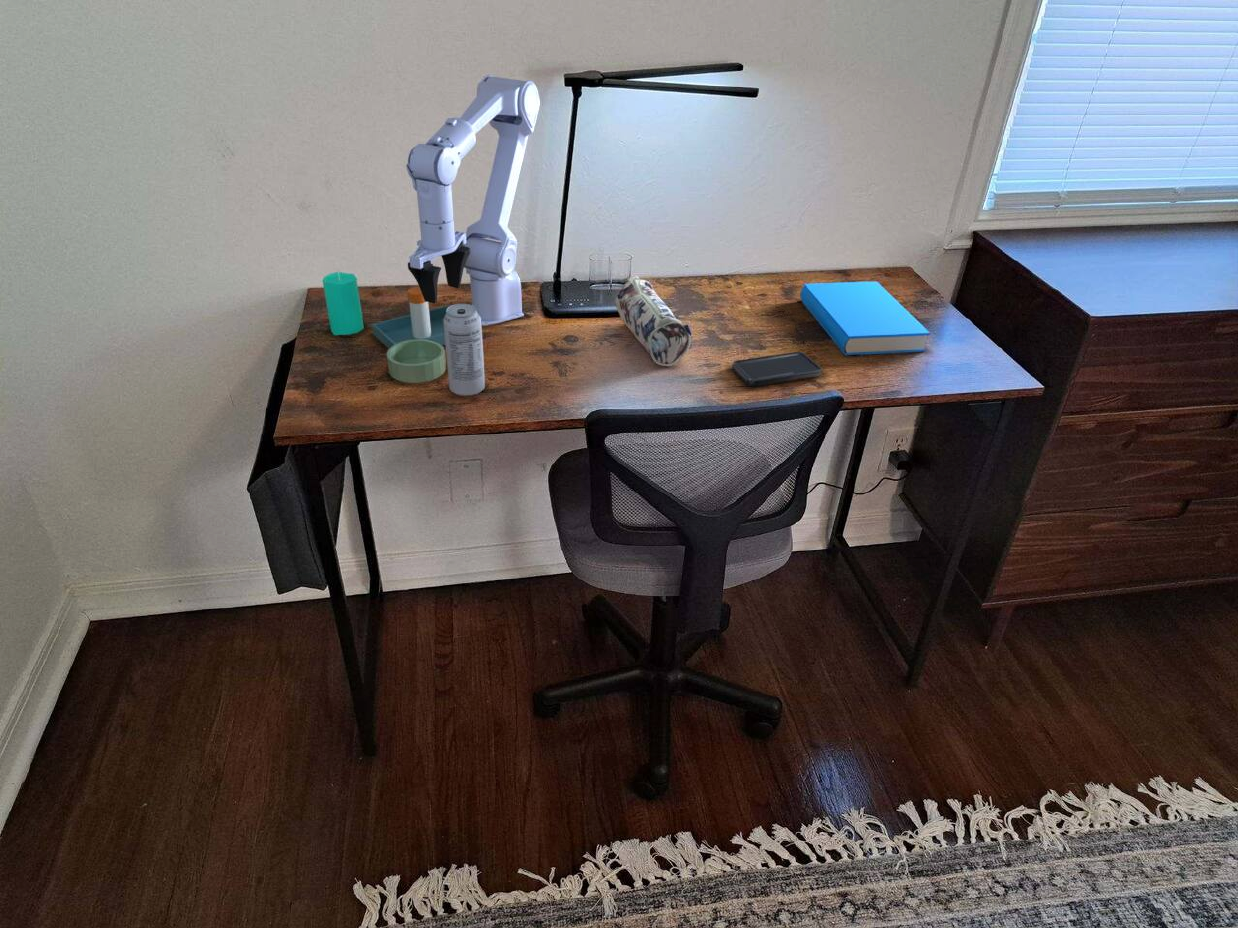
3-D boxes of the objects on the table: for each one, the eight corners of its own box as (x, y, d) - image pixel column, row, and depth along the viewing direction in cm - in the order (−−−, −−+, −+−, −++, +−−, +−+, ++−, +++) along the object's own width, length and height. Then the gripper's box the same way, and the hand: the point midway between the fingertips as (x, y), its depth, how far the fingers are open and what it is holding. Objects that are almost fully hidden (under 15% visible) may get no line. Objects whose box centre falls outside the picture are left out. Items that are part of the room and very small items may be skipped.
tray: (449, 316, 167) (448, 305, 165) (476, 337, 160) (475, 325, 158) (373, 336, 158) (371, 324, 157) (398, 359, 151) (396, 346, 150)
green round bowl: (430, 353, 154) (428, 334, 152) (455, 375, 147) (454, 356, 145) (380, 367, 149) (377, 348, 147) (403, 390, 142) (401, 371, 140)
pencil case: (691, 365, 154) (696, 316, 148) (648, 370, 151) (651, 321, 146) (651, 315, 170) (654, 269, 165) (611, 319, 168) (613, 273, 163)
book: (876, 281, 180) (932, 331, 160) (872, 299, 182) (926, 351, 162) (800, 283, 177) (847, 335, 157) (797, 302, 179) (843, 355, 159)
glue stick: (426, 329, 161) (422, 285, 155) (435, 336, 158) (430, 292, 153) (409, 333, 159) (403, 289, 154) (417, 341, 156) (412, 296, 151)
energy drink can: (485, 381, 146) (480, 301, 137) (485, 399, 141) (480, 317, 132) (450, 382, 145) (443, 302, 137) (448, 400, 140) (441, 318, 132)
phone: (730, 361, 153) (802, 350, 157) (729, 367, 153) (801, 356, 158) (750, 382, 147) (824, 370, 151) (749, 387, 147) (823, 375, 152)
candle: (355, 338, 157) (345, 278, 150) (325, 334, 158) (314, 274, 151) (369, 325, 162) (360, 266, 155) (340, 321, 163) (330, 262, 156)
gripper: (440, 203, 149) (445, 276, 157) (391, 227, 138) (399, 304, 146) (474, 210, 147) (478, 283, 155) (427, 234, 136) (434, 312, 144)
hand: (442, 294), depth 150 cm, fingers open, 7 cm apart
